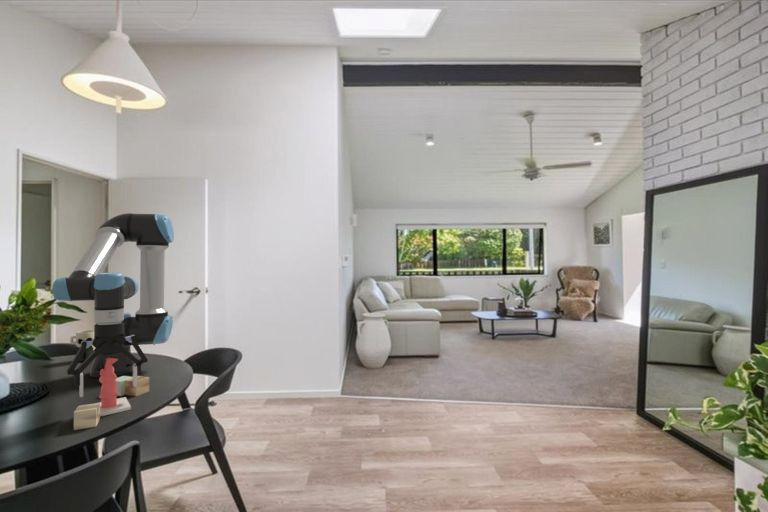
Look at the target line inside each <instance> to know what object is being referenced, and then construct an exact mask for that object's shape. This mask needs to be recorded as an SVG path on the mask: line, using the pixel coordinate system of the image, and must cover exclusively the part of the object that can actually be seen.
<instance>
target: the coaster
mask: <svg viewBox="0 0 768 512" xmlns="http://www.w3.org/2000/svg"><path fill="white" fill-rule="evenodd" d="M98 403H100V417H104V416H107V415H113V414H117V413H122V412H127V411H130V410H132V405H131V404H130V402H129V400H128V399H127V396H125V397H120V398H117V405H116V406H114V407H111V408H101V401H100V402H98Z"/></svg>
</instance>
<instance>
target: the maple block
mask: <svg viewBox="0 0 768 512" xmlns="http://www.w3.org/2000/svg"><path fill="white" fill-rule="evenodd" d="M100 421H101V416H100V403H99V402H96V403H89V404H81V405H78V406H77V407H76V409H75V410H74V411H73V431H77V430H82V429H89V428H94V427H97V426H98V424H99V422H100Z"/></svg>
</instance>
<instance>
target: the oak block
mask: <svg viewBox="0 0 768 512" xmlns="http://www.w3.org/2000/svg"><path fill="white" fill-rule="evenodd" d="M148 392H150V376H142V375H137V386H136V387H134V386H133V378H130V379H128V380H125V395H126V396H131V397H138V396H141V395H143V394H146V393H148ZM125 395H124V396H125Z"/></svg>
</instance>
